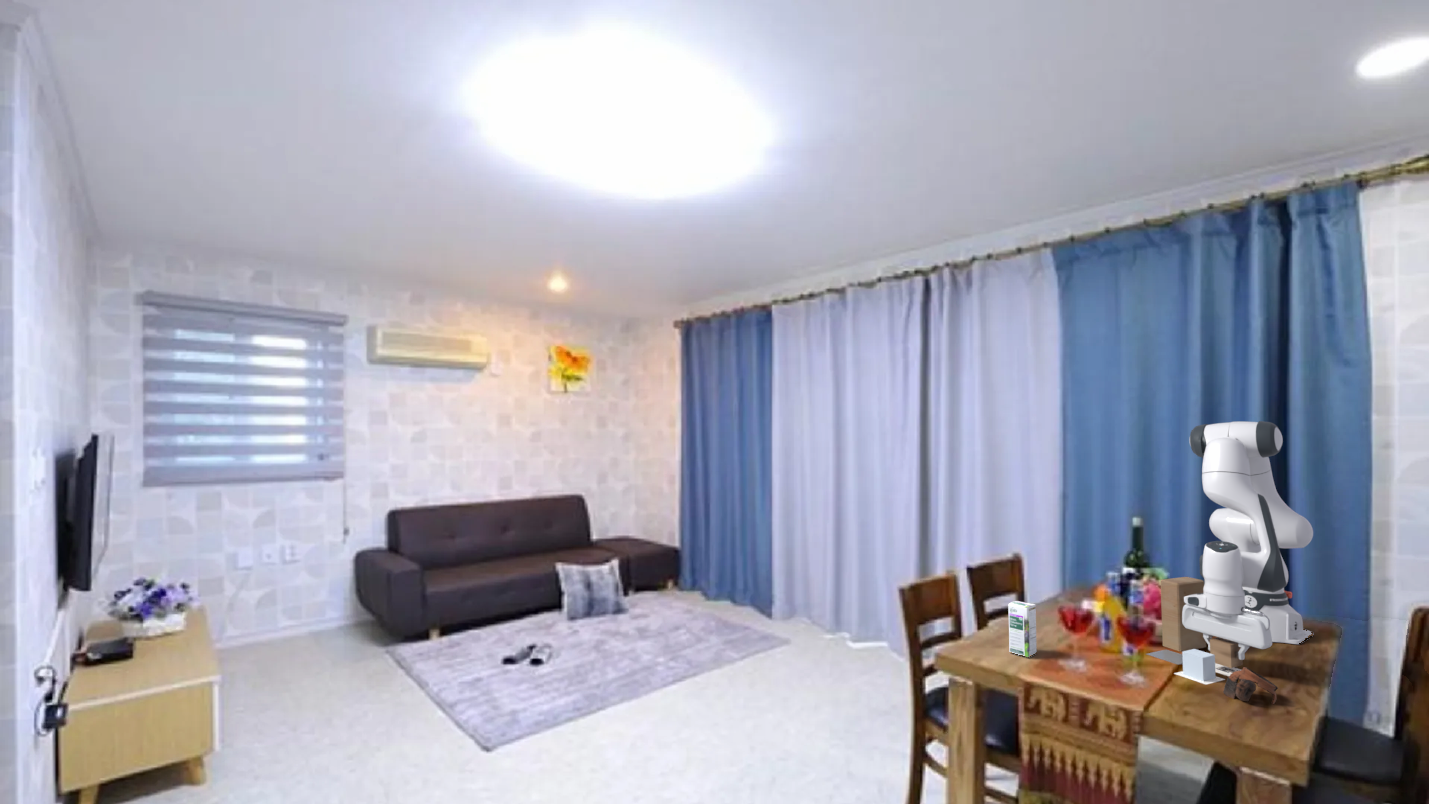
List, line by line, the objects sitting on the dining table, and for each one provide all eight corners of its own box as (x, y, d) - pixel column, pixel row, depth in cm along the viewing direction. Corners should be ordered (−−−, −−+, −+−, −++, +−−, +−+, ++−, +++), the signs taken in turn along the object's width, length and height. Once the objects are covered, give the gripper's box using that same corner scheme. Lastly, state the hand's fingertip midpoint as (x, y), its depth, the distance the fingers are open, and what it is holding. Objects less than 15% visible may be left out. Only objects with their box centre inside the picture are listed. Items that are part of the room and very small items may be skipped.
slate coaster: (1166, 650, 191) (1166, 649, 191) (1198, 661, 183) (1198, 659, 183) (1145, 655, 187) (1145, 653, 187) (1178, 666, 179) (1178, 664, 179)
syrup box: (1008, 653, 190) (1007, 603, 191) (1018, 648, 194) (1016, 599, 195) (1028, 658, 186) (1026, 607, 186) (1037, 653, 190) (1036, 603, 190)
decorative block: (1188, 642, 198) (1186, 576, 198) (1207, 648, 192) (1205, 580, 193) (1161, 646, 194) (1159, 579, 195) (1179, 653, 189) (1177, 583, 190)
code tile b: (1192, 670, 176) (1192, 668, 176) (1225, 680, 169) (1225, 679, 169) (1173, 675, 173) (1173, 673, 173) (1206, 686, 166) (1206, 684, 166)
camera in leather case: (1222, 689, 165) (1241, 662, 164) (1265, 717, 158) (1285, 690, 157) (1214, 690, 157) (1234, 662, 156) (1259, 721, 150) (1281, 692, 149)
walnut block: (1222, 658, 179) (1221, 636, 179) (1242, 664, 174) (1241, 642, 174) (1210, 661, 177) (1209, 639, 177) (1231, 668, 172) (1230, 645, 172)
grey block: (1195, 671, 174) (1194, 648, 174) (1215, 678, 170) (1214, 654, 170) (1183, 674, 172) (1182, 651, 172) (1203, 681, 168) (1202, 657, 168)
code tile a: (1218, 663, 180) (1218, 662, 180) (1251, 674, 173) (1251, 672, 173) (1199, 668, 177) (1199, 666, 177) (1232, 679, 170) (1232, 677, 170)
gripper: (1276, 612, 167) (1278, 666, 167) (1191, 592, 186) (1193, 641, 186) (1262, 615, 165) (1264, 670, 165) (1177, 595, 184) (1179, 645, 183)
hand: (1226, 654), depth 175 cm, fingers closed on walnut block, 5 cm apart
